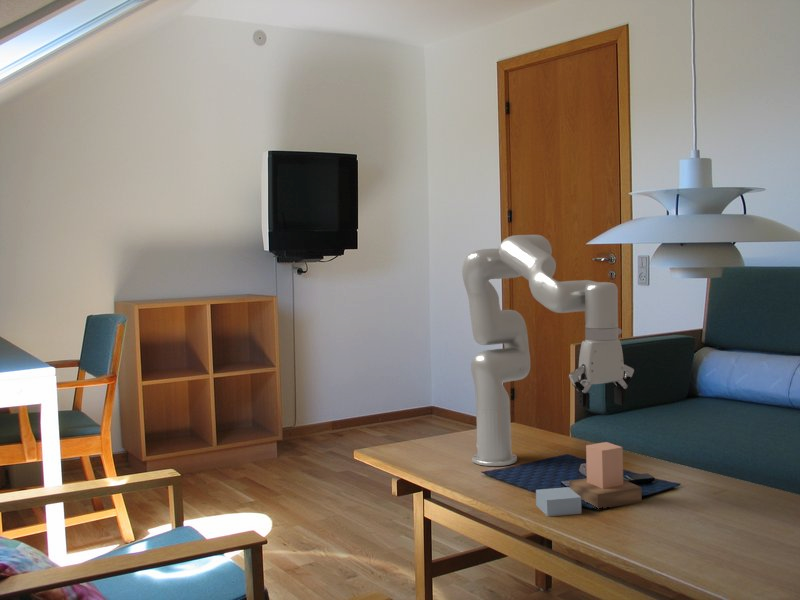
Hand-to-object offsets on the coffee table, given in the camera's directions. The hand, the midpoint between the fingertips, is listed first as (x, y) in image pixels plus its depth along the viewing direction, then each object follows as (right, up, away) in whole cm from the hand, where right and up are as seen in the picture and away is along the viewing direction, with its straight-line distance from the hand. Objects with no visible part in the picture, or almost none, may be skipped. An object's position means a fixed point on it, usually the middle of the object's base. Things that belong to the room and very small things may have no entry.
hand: (602, 406), depth 191 cm
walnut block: (+1, -23, +1) cm, 23 cm away
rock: (+4, -21, +20) cm, 30 cm away
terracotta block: (+1, -19, +1) cm, 19 cm away
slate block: (-11, -23, -6) cm, 27 cm away
